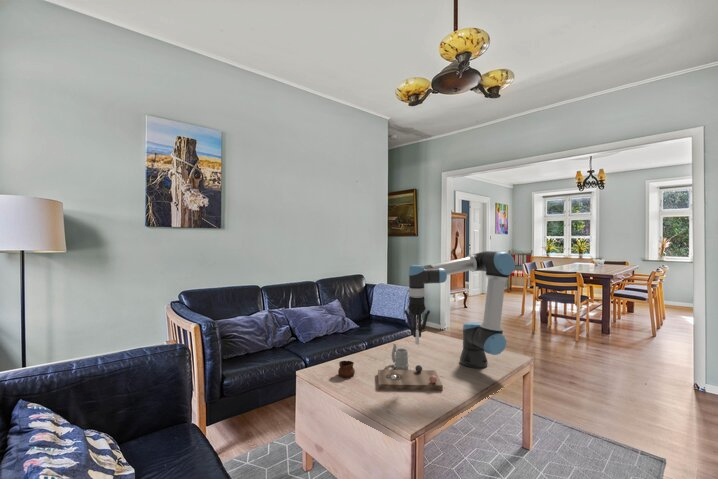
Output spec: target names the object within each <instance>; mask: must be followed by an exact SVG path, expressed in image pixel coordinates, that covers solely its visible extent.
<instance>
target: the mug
mask: <svg viewBox="0 0 718 479" xmlns="http://www.w3.org/2000/svg"><path fill="white" fill-rule="evenodd" d="M408 353H409V352H408V349H406V348H397V344H396V343H393V346H392V351H391V361H392V363H394V368H395V370H409V355H408Z"/></svg>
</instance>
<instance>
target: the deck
mask: <svg viewBox="0 0 718 479" xmlns="http://www.w3.org/2000/svg"><path fill="white" fill-rule="evenodd" d="M392 375H396V376H397V379H393V378H391V376H392ZM432 375H434V376H436V378H437V381H436V383H431V382H430V380H429V378H430V376H432ZM377 380H378V391H379V390H382V391H385V390H386V391H388V390H389V391H394V390H395V391H440V392H441V391H443V389H444V388H443V387H444V386H443V382H442V381H441V379H440V377H439V375H438V373H437V371H436V370H432V369H431V370H430V369H429V370H423V369H422V371H421V372H417V371H416V369H407V370H398V369H377Z"/></svg>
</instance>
